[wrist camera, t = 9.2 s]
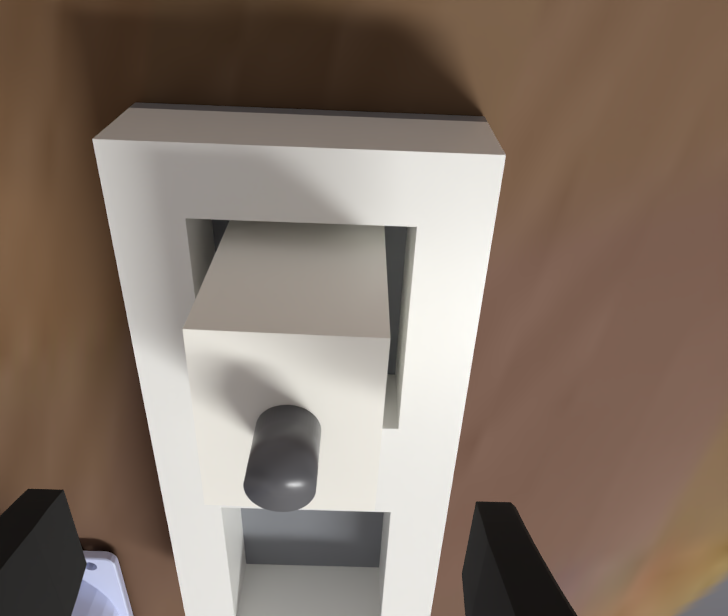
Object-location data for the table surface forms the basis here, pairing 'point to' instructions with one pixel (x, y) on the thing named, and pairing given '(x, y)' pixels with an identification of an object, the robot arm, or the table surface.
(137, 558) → the table surface
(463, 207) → the white frame
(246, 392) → the white drawer with knob
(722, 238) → the table surface
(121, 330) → the table surface
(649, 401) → the table surface
